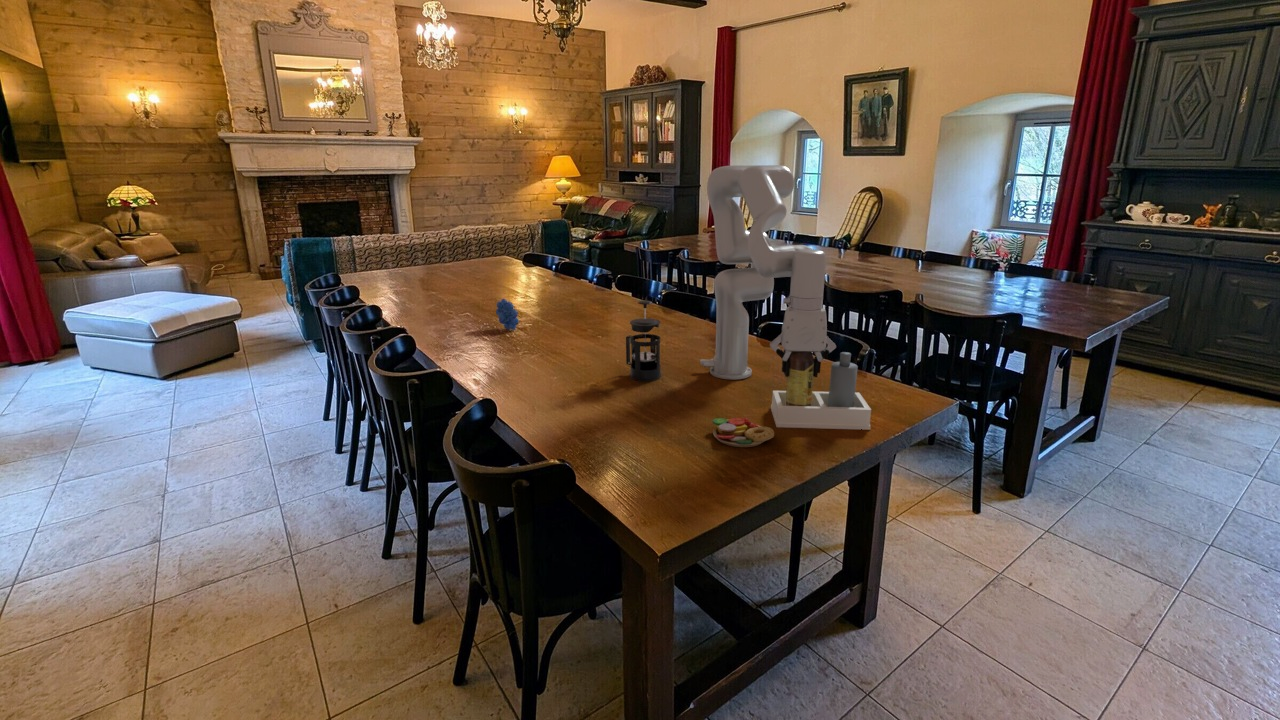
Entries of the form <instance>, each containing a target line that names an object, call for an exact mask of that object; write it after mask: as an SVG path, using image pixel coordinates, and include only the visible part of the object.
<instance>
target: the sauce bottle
mask: <svg viewBox="0 0 1280 720" xmlns="http://www.w3.org/2000/svg"><path fill="white" fill-rule="evenodd" d="M814 358H815V357H814V355H813V352H791V354H790V356H789V361H790V365H789V376H788V377H786V390H785V391H786V406H811V402H812V391H813V389H814V388H813V387H814V378H815V377H814Z"/></svg>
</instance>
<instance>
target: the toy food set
mask: <svg viewBox="0 0 1280 720" xmlns="http://www.w3.org/2000/svg"><path fill="white" fill-rule="evenodd" d="M712 425H713V426H714V428H713V429H712V434H713V436H714V438H716V440H718V441H719V442H720V443H721V444H725V445H727V446H731V447H733V448H734V447H737V448H752V447H757V446H759V445H762V444H763V443H764V442H766V441H769V440H771V439H772V438H774V436H775V431H774V429H773V428H771V427H768V426H761V425H758V424H756V423H752V422H751V420H750V419H749V418H747V417H731V418H729V419H726V418H722V417H718V418H713V419H712Z"/></svg>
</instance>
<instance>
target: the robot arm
mask: <svg viewBox="0 0 1280 720" xmlns="http://www.w3.org/2000/svg"><path fill="white" fill-rule="evenodd" d="M794 187H795V179H794V175H793V173H792V171H791V170H790V169H789V168H788V167H787V166H785V165H781V164H778V165H777V164H776V165H775V164H773V165H772V164H771V165H770V164H769V165H765V164H763V165H757V164H756V165H724V166H719V167H717V168H714V169H713V170H712V171H711V172H710V174H709V176H708V178H707V186H706V192H707V193H706V194H707V199H708V202H709V205H710V209H711V212H712V215H713V222H714V223H713V224H714V226H713V227H714V234H715V236H714V237H715V238H714V239H715V248H716V249H715V250H716V255H717V258H718V259H717V260H718V261H719V262H720V263H721V264H722V265H723V264H725V265H740V264H741V265H742V264H743V265H745V264H750V267H746V268H744V267H743V268H742V267H741V268H730V269H725V270H722V271H720V272H719V273H718V274H717V275H715V277H714V282H713V289H714V295H715V296H714V297H715V301H716V302H715V304H716V305H715V306H716V322H715V323H716V324H715V325H716V326H715V328H716V329H715V330H716V331H715V354H714V355H713V358H710V359H705V358H704V359H703V358H700V364H699V365H700V366H702V367H703V366H704V368H709V373H710V375H711V376H712V377H715V378H719V379H723V380H734V381H735V380H742V379H743V380H744V379H747V378H749V377H751V376H752V374H753V370H752V368H751V367H749V366H748V352H749V351H748V349H749V348H748V347H749V333H750V332H749V327H750V316H749V313H748V310H746V308H745V307H744V305H743V302H750V301H751V302H752V301H760V300H766V299H768V298H769V297H770V296H772V294H773V291H774V287H775V286H774V285H775V279H777V278H787V277H788V278H790V287H789V288H790V291H789V295H788V296H787V297H783V298H782V299H783V300H782V301H783V305H784V304H785V305H788V306H787V307H786V309H785V312H784V315H783V320H782V321H783V322H782V326H781V333H780V334H779V335H778V336H777V337H776V338H774V339H773V340H771V342H770V343H769V347H770V348H771V349H772V350H773V351H774V352H775V353H776V354H777V355H778V357H780V358H781V360H782V362H781V373H783V374H784V376H785V377H786V378H787V377H788V376H789V365H790V361H789V356H790V354H791V352H812V353H813V354H814V357H813V358H814V378H818V375H819V374H820V373H821V364H822V362H823V360H824V359H825V358H826V357H828V356H829V355H830V353H832V352H833V351H834V350H835V349H836V348H837V345H836V343H835V342H833V340H831V338H829V336H828V335H827V334H828V333H827V332H828V328H827V327H828V324H827V322H828V321H827V311H826V309H825V308H824V307H823V305H824V304H823V301H824V290H825V289H824V288H825V279H826V269H827V268H826V264H827V254H826V253H825V252H824V251H823V250H821V249H820V250H819V249H814V248H813V249H812V248H811V247H809V246H807V245H804V244H789V245H785V244H784V245H773V246H772V243H771V240H770V237H769V235H768V234H767V232H768V231H770V230H772V229H773V228H776V227H777V226H778V225H779V224H781V223H782V222H783V221H784V219H785V218H786V215H787V211H788V210H787V207H786V205H785V203H784V201H783V199H786V198H787V197H789V196H790V195H791V194H792V193H793V190H794ZM734 198H743V200H744V202H745V204H746V206H747V207H746V208H747V209H748V211H749V214H750V216H751V219H752V220H753V223H752V224H751V226H750V228H749V229H746V227H745V217H744V213H743V210H742V208H741V207H740V206H739V204H738V203H737V201H736V200H735V199H734ZM774 278H775V279H774ZM779 344H781V346H782V349H783V350H782V349H781V348H780V347H779Z"/></svg>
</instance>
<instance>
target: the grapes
mask: <svg viewBox="0 0 1280 720" xmlns="http://www.w3.org/2000/svg"><path fill="white" fill-rule="evenodd" d="M496 308H497V309H496V311H495V313H496V315H497V316H498V322H499V323H500V324H501V325H503V327H504V328H505V329H506V330H508V331H509V330H511V331H515V330H516V328H517V326H518V325H519V322H520V320H519V319H518V315H519V313H518V311H517V310H516V309H514V304H513V303H512V302H511V301H508V300H507V299H505V298H502V299H501V300H500V301H497V302H496Z"/></svg>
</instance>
